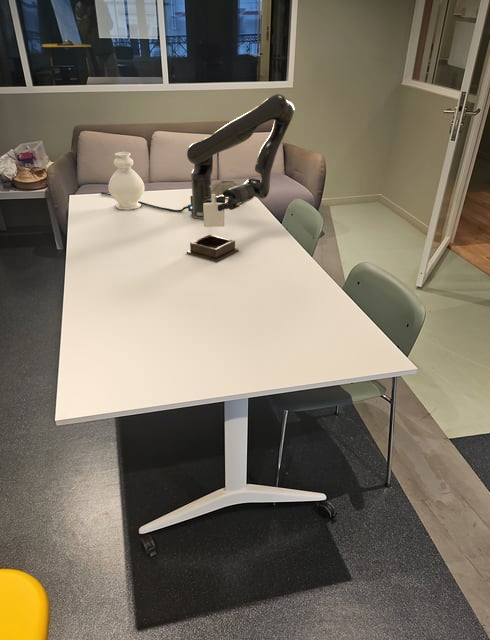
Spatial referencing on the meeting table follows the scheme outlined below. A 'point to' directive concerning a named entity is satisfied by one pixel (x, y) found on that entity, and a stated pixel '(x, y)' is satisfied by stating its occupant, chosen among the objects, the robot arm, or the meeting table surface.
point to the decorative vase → (126, 183)
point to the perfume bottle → (213, 214)
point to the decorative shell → (223, 186)
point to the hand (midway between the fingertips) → (210, 206)
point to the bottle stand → (212, 248)
